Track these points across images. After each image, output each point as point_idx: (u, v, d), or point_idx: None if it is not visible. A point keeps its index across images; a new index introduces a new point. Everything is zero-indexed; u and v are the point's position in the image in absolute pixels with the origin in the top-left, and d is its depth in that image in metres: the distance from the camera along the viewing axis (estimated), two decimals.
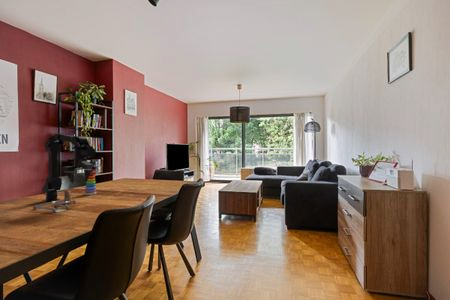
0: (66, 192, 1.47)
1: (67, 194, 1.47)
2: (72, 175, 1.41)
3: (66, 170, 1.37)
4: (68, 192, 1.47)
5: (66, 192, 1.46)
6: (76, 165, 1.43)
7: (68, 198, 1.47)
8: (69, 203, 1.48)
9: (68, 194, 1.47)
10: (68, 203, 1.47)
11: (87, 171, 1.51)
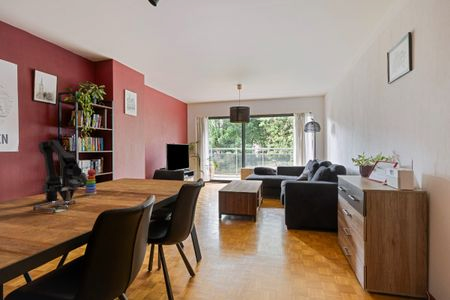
0: (66, 192, 1.47)
1: (67, 194, 1.47)
2: (64, 193, 1.45)
3: (53, 190, 1.39)
4: (68, 192, 1.47)
5: (66, 192, 1.46)
6: (63, 184, 1.45)
7: (68, 198, 1.47)
8: (69, 203, 1.48)
9: (68, 194, 1.47)
10: (68, 203, 1.47)
11: (71, 190, 1.50)
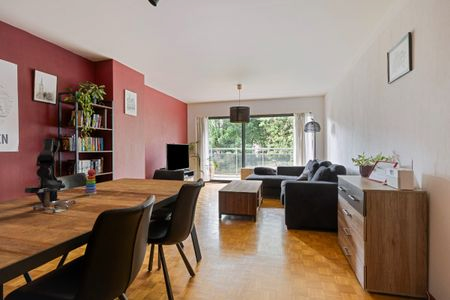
0: (44, 194, 1.35)
1: (46, 196, 1.35)
2: (42, 195, 1.33)
3: (29, 191, 1.27)
4: (47, 194, 1.35)
5: (44, 194, 1.35)
6: (41, 185, 1.33)
7: (47, 200, 1.35)
8: (48, 206, 1.36)
9: (47, 196, 1.35)
10: (47, 206, 1.36)
11: (50, 191, 1.38)
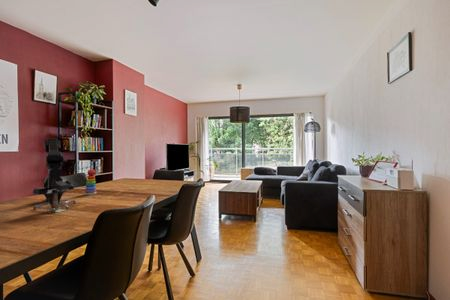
0: (53, 195, 1.31)
1: (54, 197, 1.32)
2: (50, 196, 1.30)
3: (37, 192, 1.24)
4: (55, 195, 1.32)
5: None
6: (50, 186, 1.30)
7: (55, 202, 1.32)
8: (56, 207, 1.32)
9: (55, 197, 1.32)
10: (55, 207, 1.32)
11: (58, 192, 1.35)
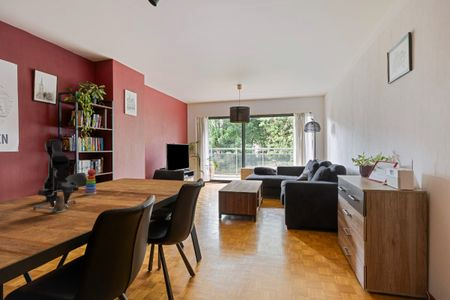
0: (58, 197, 1.30)
1: (60, 200, 1.30)
2: (52, 198, 1.27)
3: (43, 194, 1.22)
4: (60, 197, 1.31)
5: (57, 197, 1.30)
6: (55, 187, 1.29)
7: (60, 204, 1.31)
8: (61, 210, 1.31)
9: (60, 200, 1.31)
10: (60, 210, 1.31)
11: (66, 193, 1.35)
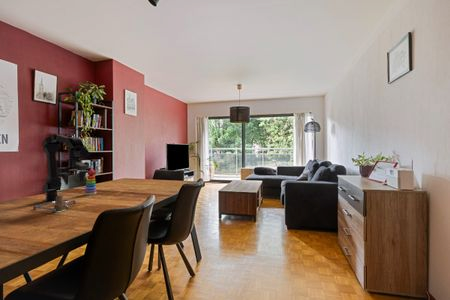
0: (58, 197, 1.30)
1: (59, 200, 1.30)
2: (66, 176, 1.40)
3: (60, 171, 1.36)
4: (60, 197, 1.31)
5: (57, 197, 1.30)
6: (70, 166, 1.43)
7: (60, 204, 1.31)
8: (61, 210, 1.31)
9: (60, 200, 1.31)
10: (60, 210, 1.31)
11: (82, 172, 1.50)
